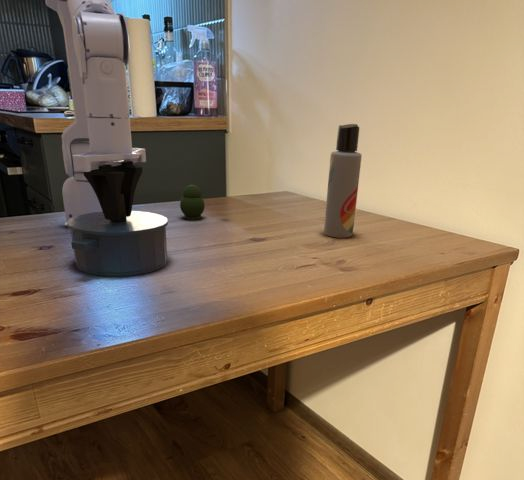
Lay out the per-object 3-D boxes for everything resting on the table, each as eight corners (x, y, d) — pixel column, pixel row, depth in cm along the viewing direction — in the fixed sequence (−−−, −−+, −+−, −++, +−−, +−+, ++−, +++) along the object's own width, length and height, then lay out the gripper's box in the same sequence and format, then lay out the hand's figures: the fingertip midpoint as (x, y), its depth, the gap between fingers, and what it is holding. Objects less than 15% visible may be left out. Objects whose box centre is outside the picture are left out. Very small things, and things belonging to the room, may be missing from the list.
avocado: (176, 219, 106) (174, 185, 103) (187, 214, 111) (186, 182, 108) (198, 221, 105) (197, 187, 102) (208, 217, 109) (208, 184, 106)
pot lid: (45, 232, 71) (39, 195, 69) (107, 214, 83) (103, 182, 81) (134, 244, 67) (130, 205, 65) (185, 223, 79) (183, 190, 77)
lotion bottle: (358, 236, 98) (371, 125, 89) (337, 239, 95) (348, 124, 86) (338, 230, 102) (349, 123, 93) (317, 233, 99) (326, 123, 90)
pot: (43, 273, 71) (36, 232, 69) (120, 243, 87) (116, 208, 85) (125, 287, 67) (121, 243, 65) (189, 252, 84) (188, 216, 81)
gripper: (100, 119, 61) (112, 230, 67) (160, 117, 73) (165, 211, 79) (53, 117, 63) (68, 225, 69) (119, 115, 75) (127, 207, 81)
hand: (118, 217), depth 74 cm, fingers closed on pot lid, 2 cm apart
